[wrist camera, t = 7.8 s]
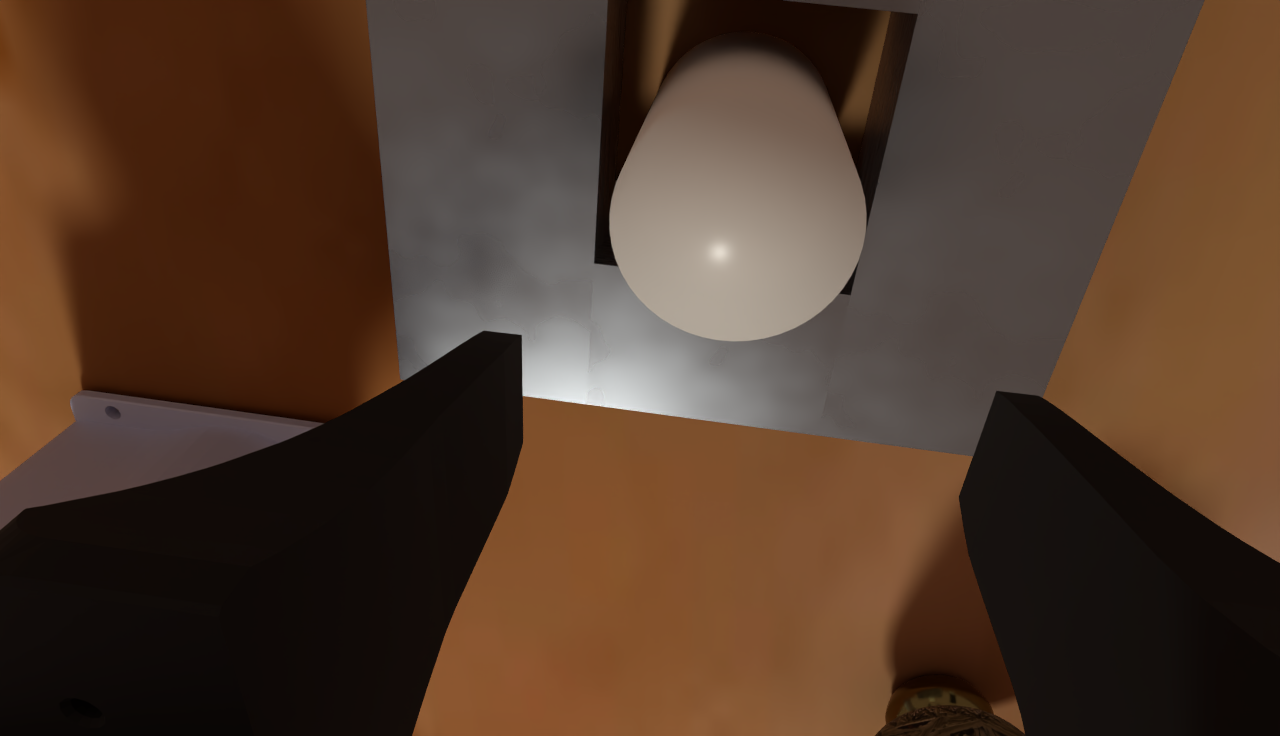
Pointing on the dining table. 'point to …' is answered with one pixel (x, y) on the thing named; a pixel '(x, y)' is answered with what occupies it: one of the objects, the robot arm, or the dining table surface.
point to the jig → (891, 181)
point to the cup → (942, 710)
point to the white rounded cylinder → (739, 193)
